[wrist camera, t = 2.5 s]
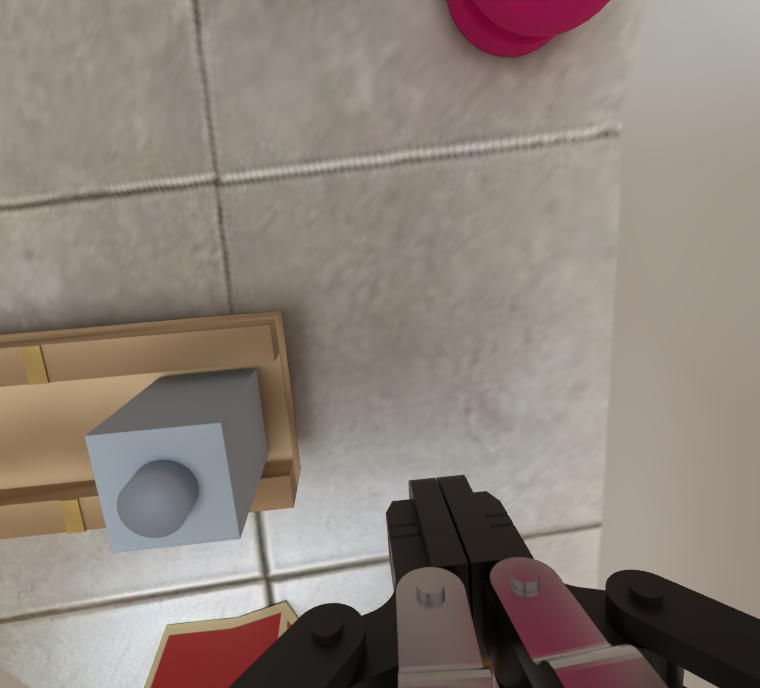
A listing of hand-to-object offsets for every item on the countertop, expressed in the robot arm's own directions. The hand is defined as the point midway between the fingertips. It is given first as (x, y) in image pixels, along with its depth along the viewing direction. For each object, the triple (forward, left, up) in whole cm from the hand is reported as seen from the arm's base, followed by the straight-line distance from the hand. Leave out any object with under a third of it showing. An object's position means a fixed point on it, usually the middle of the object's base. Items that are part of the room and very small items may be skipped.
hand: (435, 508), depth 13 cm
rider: (0, -8, -8) cm, 12 cm away
